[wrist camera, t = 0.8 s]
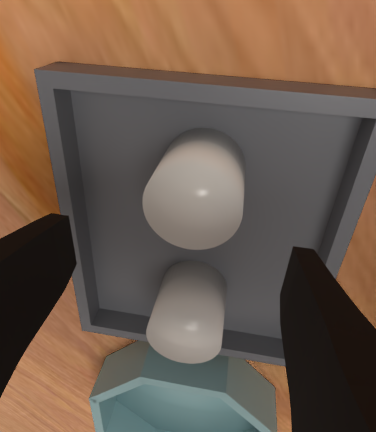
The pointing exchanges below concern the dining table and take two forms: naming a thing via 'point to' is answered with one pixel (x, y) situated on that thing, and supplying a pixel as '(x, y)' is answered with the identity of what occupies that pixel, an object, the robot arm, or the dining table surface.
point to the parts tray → (253, 190)
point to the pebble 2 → (189, 313)
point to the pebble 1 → (197, 190)
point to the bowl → (180, 394)
